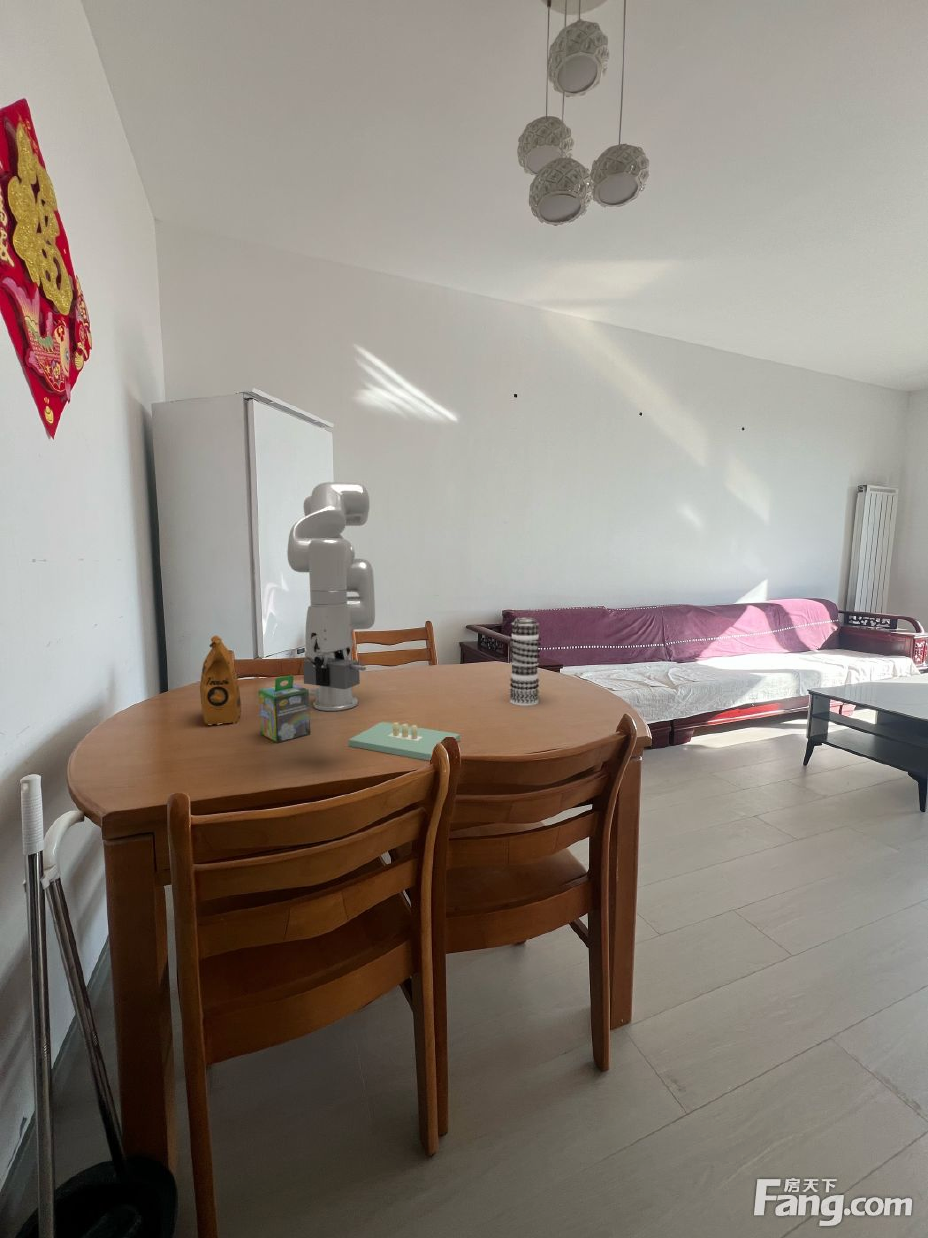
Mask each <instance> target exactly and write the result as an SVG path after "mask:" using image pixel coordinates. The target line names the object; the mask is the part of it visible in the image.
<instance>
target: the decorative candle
mask: <svg viewBox="0 0 928 1238" xmlns="http://www.w3.org/2000/svg"><path fill="white" fill-rule="evenodd" d="M539 625H540V623H538V622H537V620H536V619H535V618H533V617H517V618H515V619H514V621H513V622H511V626H512V628H511V631H512V633H511V637H510V638H509V640H510V641H511V642H509V647H510V649H509V652H510V654H509V658H510V660H509V663H510V665H511V675H510V679H509V681H510V682H511V683H510V684H509V686H510V687H511V688H510V689H509V692H510V694H509V698H510V699H509V702H510V703H511V704H513V705H516V706H521V707H529V706H534V705H538V704H539V697H540V696H539V693H540V690H539V689H538V688H539V686H540V685H539V681H540V679H539V673H538V666H539V664H540V661H539V660H538V659H539V658H540V657H541V655H540V654H539V653H541V650H540V648H538V647H540V646H541V645H542V644H541V643H540V641H542V638H541V637H539V635H540V634H539Z"/></svg>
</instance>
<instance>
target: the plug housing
mask: <svg viewBox="0 0 928 1238" xmlns="http://www.w3.org/2000/svg"><path fill="white" fill-rule="evenodd" d="M320 659H321V660H322V657H320ZM327 668H329V681H330V685H329V686H327V687H331V688H338V689H348V688H350V687H352V688H353V687H355V686H358V685H360V684H361V683H360V680H361V679H360V671H362V672H364V671H366V670H367V667H366V665H360V661H359V660H353V659H351V660H346V659H337V658H329V657H328V662H327ZM302 670H303V671H302V672H303V684H305V685H313V686H319V685H316V669H315V667H313V664H312V663H311V661H310V660H309V659H308V658H306V659H303V660H302Z"/></svg>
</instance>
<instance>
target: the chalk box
mask: <svg viewBox="0 0 928 1238" xmlns="http://www.w3.org/2000/svg"><path fill="white" fill-rule="evenodd" d="M294 677H295V676H294V675H292V674H291V675H286V676H281V677H277V678H276V679H275V682H274V683H275V684H274V685H273V686H270V687H266V688H262V689H258V691H257V692H258V707H259V721H260V734H261V735H263V736H264V737H266V738H267V739H269V740H272V741H273V742H274V743H276V744H279V743H281V742H285V741H290V740H292V739H297V738H300V737H305V736H308V735H311V721H310V720H311V719H310V716H311V715H310V695H309V692H310V691H309V689H308V688H306V687H303V686H301V685H297V684H295V683H294ZM285 681H286V682H287V683H283V684H281V683H282V682H285Z"/></svg>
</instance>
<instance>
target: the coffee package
mask: <svg viewBox="0 0 928 1238" xmlns="http://www.w3.org/2000/svg"><path fill="white" fill-rule="evenodd" d="M210 639H211V643H210V644H209V648H210V651H209V652H208V653H207V655H206V656H205V658H204V661H203V663H202V669H201V676H200V683H199V684H200V686H199V693H200V702H201V703H200V704H201V709H202V716H203V721H204V724H206V725H207V724H218V723H231V722H236V721H237V720H238V721H239V718H240V716H241V714H242V703H241V702H242V700H241V692H240V685H239V680H238V675H237V671H236V667H235V664H234V660H233V657H232V655H231V653H230V650H229V649H228V648H227V647H226V646H225V644H224V643H223V642H222V640H223V639H222V638H221V637H220V636H218V635H214V636H211V638H210ZM238 721H237V722H238Z"/></svg>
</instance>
